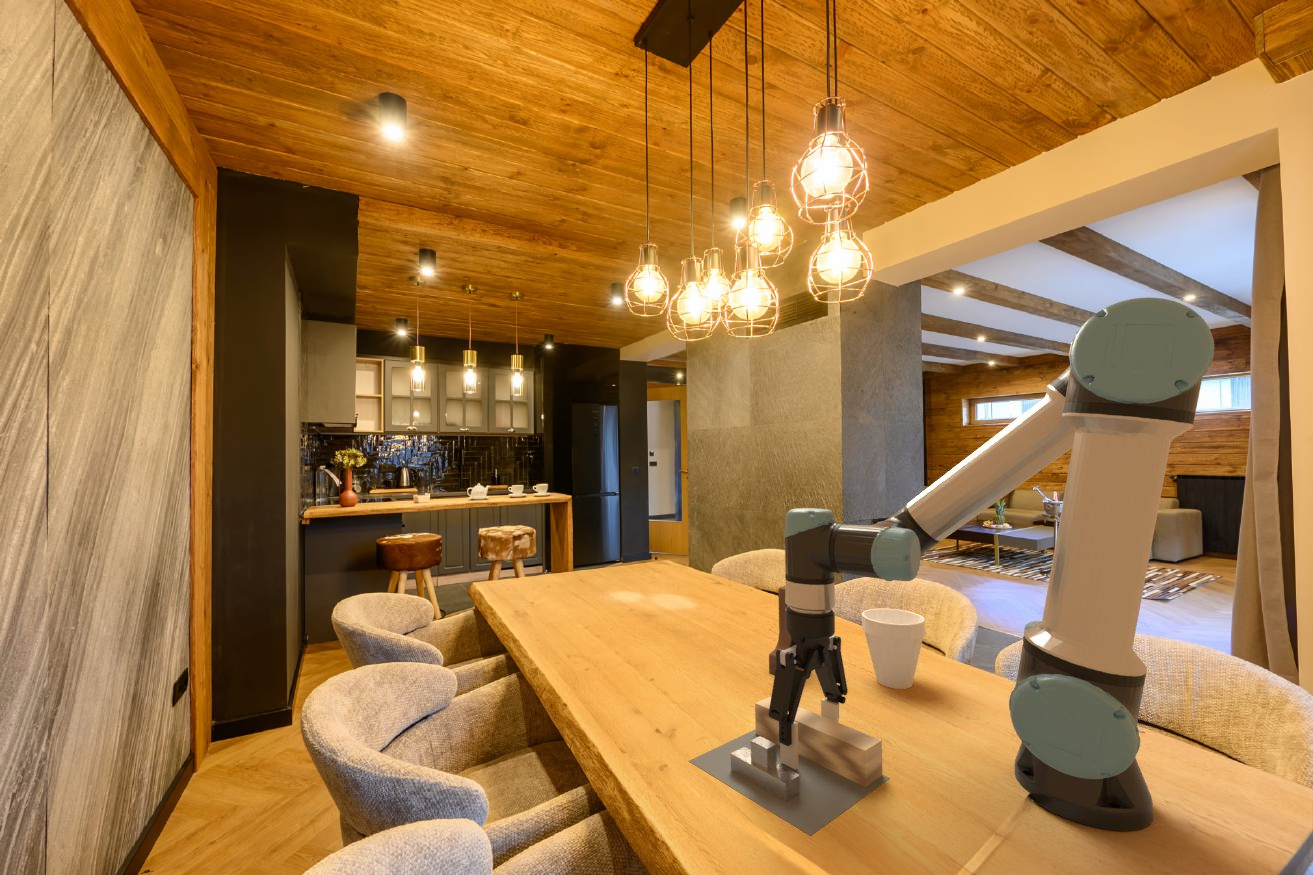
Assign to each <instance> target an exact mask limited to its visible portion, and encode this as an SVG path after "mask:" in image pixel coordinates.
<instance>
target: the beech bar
mask: <svg viewBox="0 0 1313 875" xmlns="http://www.w3.org/2000/svg"><path fill="white" fill-rule="evenodd" d="M771 696H772V695H770V696H768V697H766V698H764V699H761V700H759V701H756V702H755V703H754V705H755V706H754V709H755V710H754V711H755V713H754V714H755V715H754V716H755V718H754V719H755V729H756V734H758V735H760V736H762V737H764V738H766V739H768V740H770V741H772V742H774V743H776V744H778V745H780V741H779V721H777V720H774V719H772V718H770V717H769V708H770V702H771ZM788 714H789V712H788ZM794 721H795V722H798V754H799V755H801V756H803V757H805V758H807V759H809V760H811V761H813V762H815V763H817V764H819V765H821V766H823V767H825V768H827V769H830V770H832V771H834V772H836V773H838V774H840V775H842V776H844V777H846V778H848V779H850V780H852V781H854V782H856V783H858V784H860V785H862V786H864V787H867V786H869V785H870V784H872V783H873V782H874V781H876V780H877V779H879V778H880V777H881V776H883V775H884V774H883V743H882V742H883V741H882V739H880V738H877V737H874V736H872V735H869V734H867V733H865V732H862V731H860V730H857V729H854V728H852V727H850V726H848V725H845V724H843V723H840V722H839V723H838V722H835V721H833V720H830V719H828V718H825V717H823V716H821V714H818V713H815V712H813V711H810V710H808V709H806V708H803V707H801V706H798V710H797V713H796V717H795V720H794Z"/></svg>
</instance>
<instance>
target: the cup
mask: <svg viewBox="0 0 1313 875" xmlns="http://www.w3.org/2000/svg"><path fill="white" fill-rule="evenodd" d="M861 617H862V618H861V622H862V623H861V629H862V631H864V634H865V639H866V643H867V646H868V651H869V654H870V658H871V662H872V665H873V666H872V667H873V670H874V673H875V678H876V682H877V683H879V685H882V686H883V687H886V688H891V689H896V690H905V689H906V690H907V689H910V688H912V687H913V684H914V680H915V679H914V678H915V675H916V670H917V666H918V665H917V664H918V660H919V656H920V653H921V649H922V644H923V640H924V637H925V636H926V635H927V634H926V633H927V632H926V624H925V623H926V619H925V618H924V616H922V615H920V614H918V613H916V612H912V611H909V610H903V609H897V608H885V607H884V608H870V609H866V610H864V611H862V613H861Z"/></svg>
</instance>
